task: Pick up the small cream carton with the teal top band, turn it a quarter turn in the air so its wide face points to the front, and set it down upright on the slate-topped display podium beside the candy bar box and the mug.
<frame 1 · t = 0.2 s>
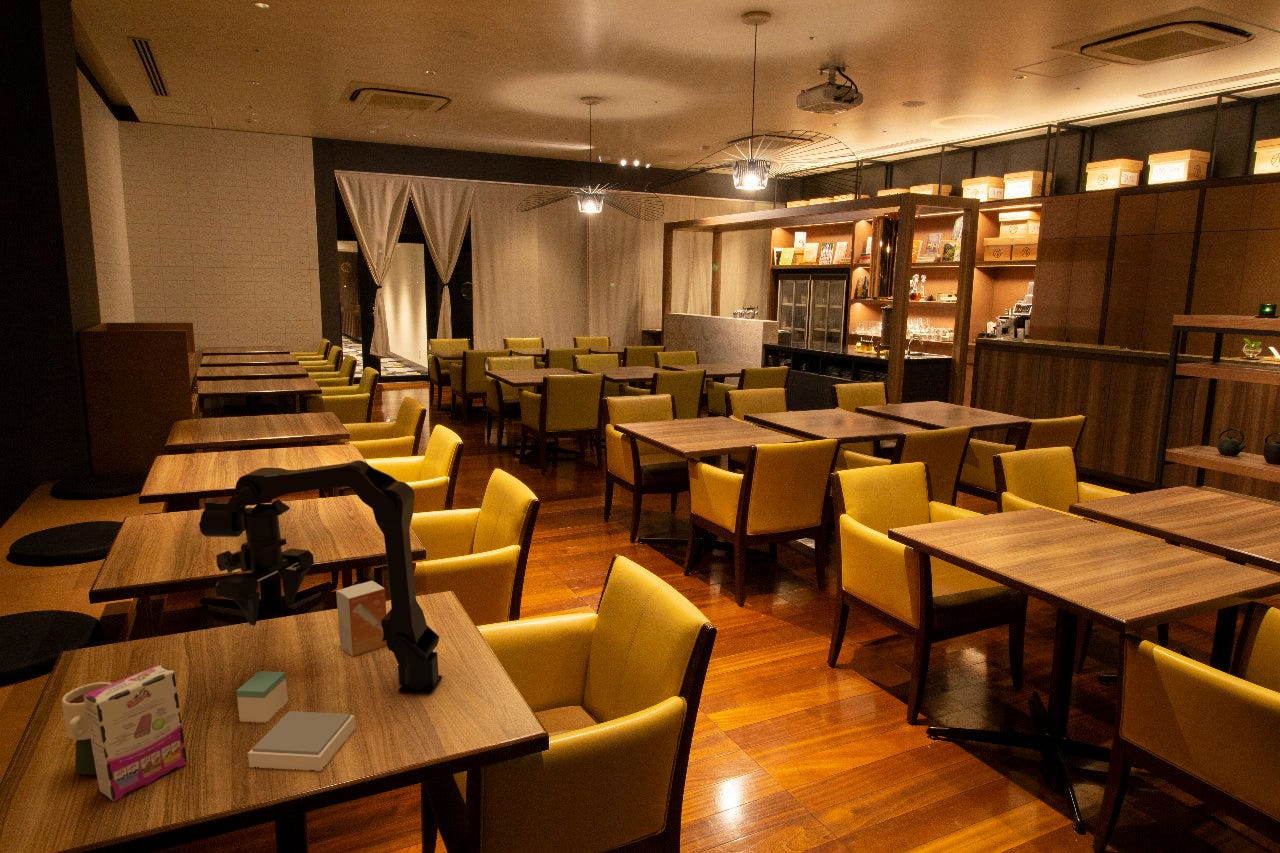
hand: (271, 614, 147), 14 cm above the table, tool pointing down, fingers open, 9 cm apart
display podium: (304, 747, 130), on the table
small box: (364, 647, 165), on the table
character mug: (100, 768, 124), on the table
candy bar box: (143, 779, 122), on the table
cream carton: (264, 711, 141), on the table
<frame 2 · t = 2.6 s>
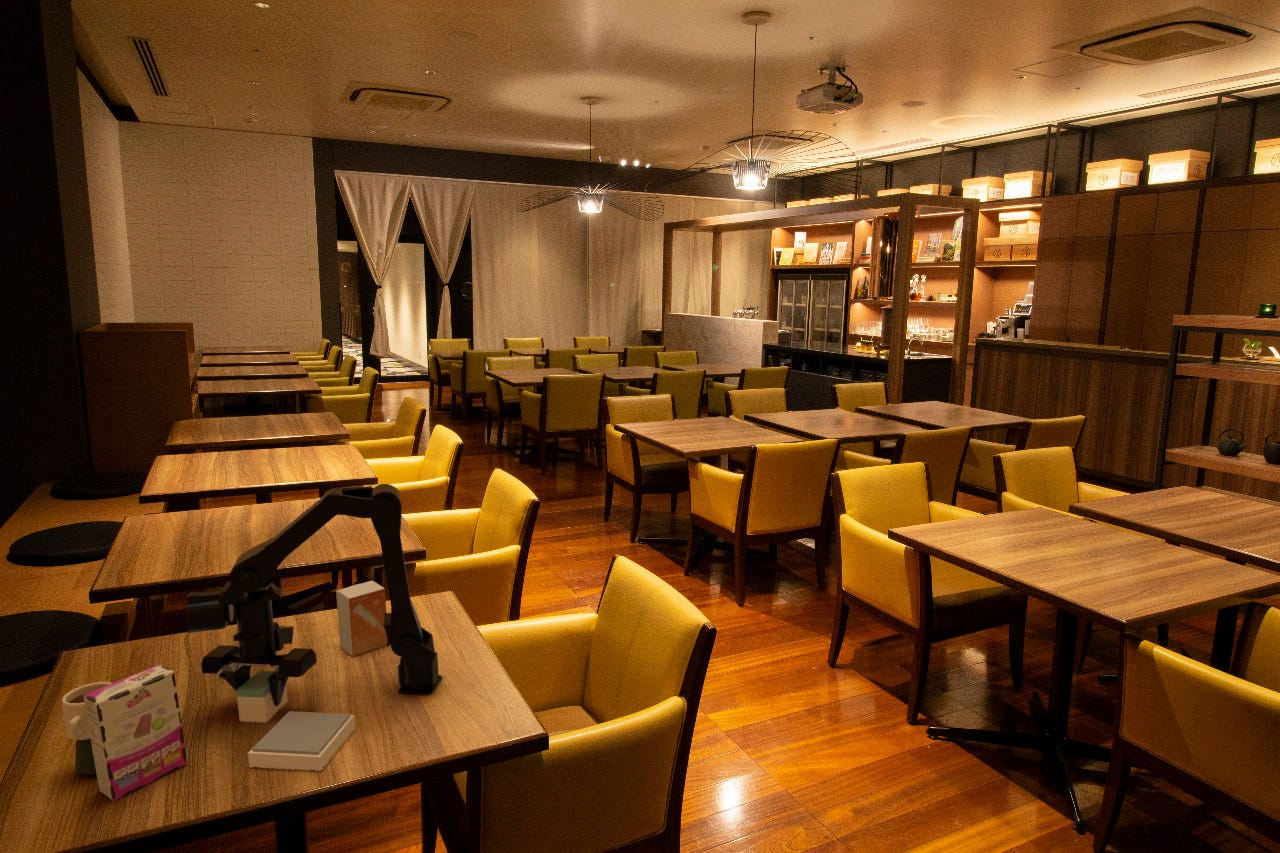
hand: (263, 704, 140), 1 cm above the table, tool pointing down, fingers closed on cream carton, 5 cm apart
cream carton: (264, 711, 141), on the table, touching gripper
everything else where it was.
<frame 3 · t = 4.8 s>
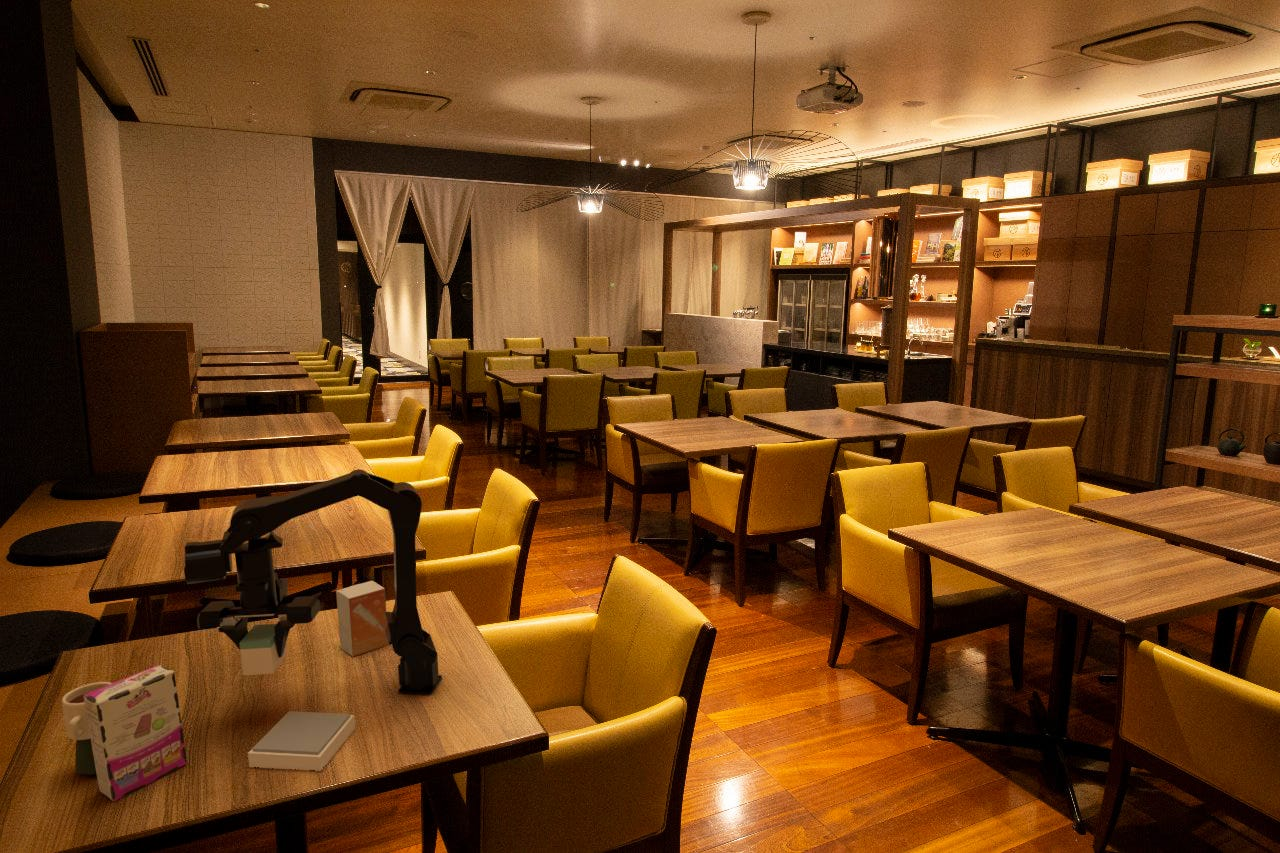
hand: (265, 657, 137), 11 cm above the table, tool pointing down, fingers closed on cream carton, 5 cm apart
cream carton: (265, 664, 137), point 10 cm above the table, touching gripper
everything else where it was.
when the fingers open (6 cm above the table, at t = 7.1 s): cream carton drops 2 cm, resting on display podium.
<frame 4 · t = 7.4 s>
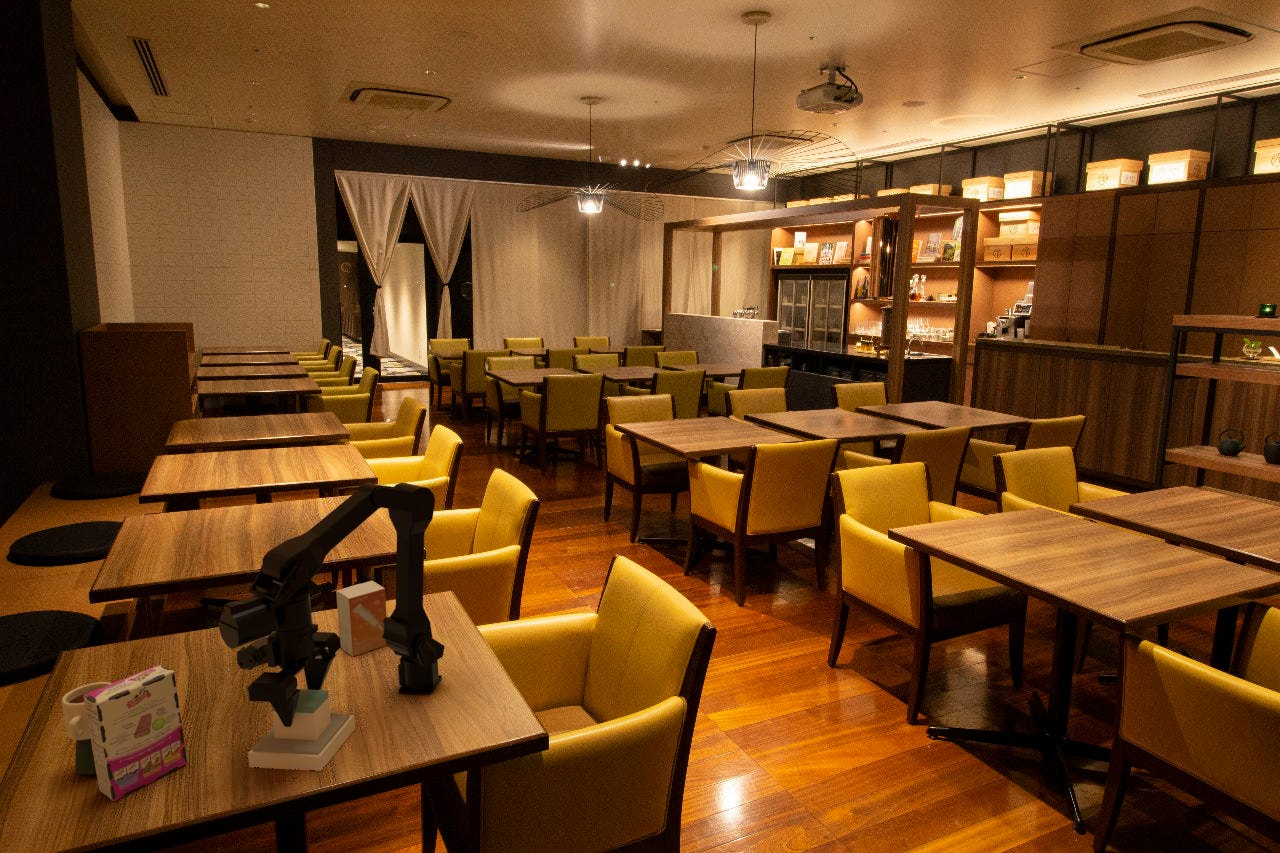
hand: (301, 712, 128), 6 cm above the table, tool pointing down, fingers open, 8 cm apart
cream carton: (303, 730, 129), point 3 cm above the table, touching display podium
everything else where it was.
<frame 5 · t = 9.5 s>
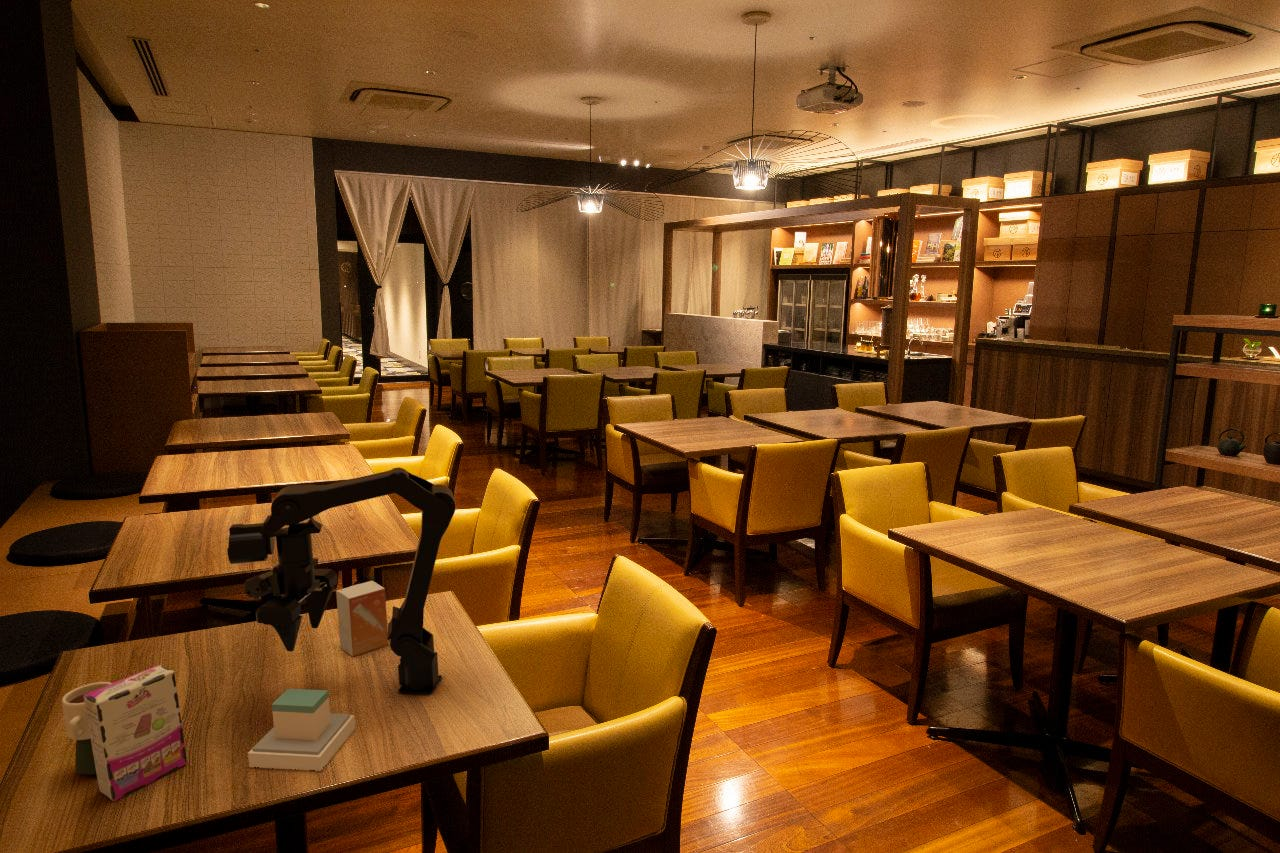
hand: (303, 639, 141), 12 cm above the table, tool pointing down, fingers open, 9 cm apart
nothing on the table moved.
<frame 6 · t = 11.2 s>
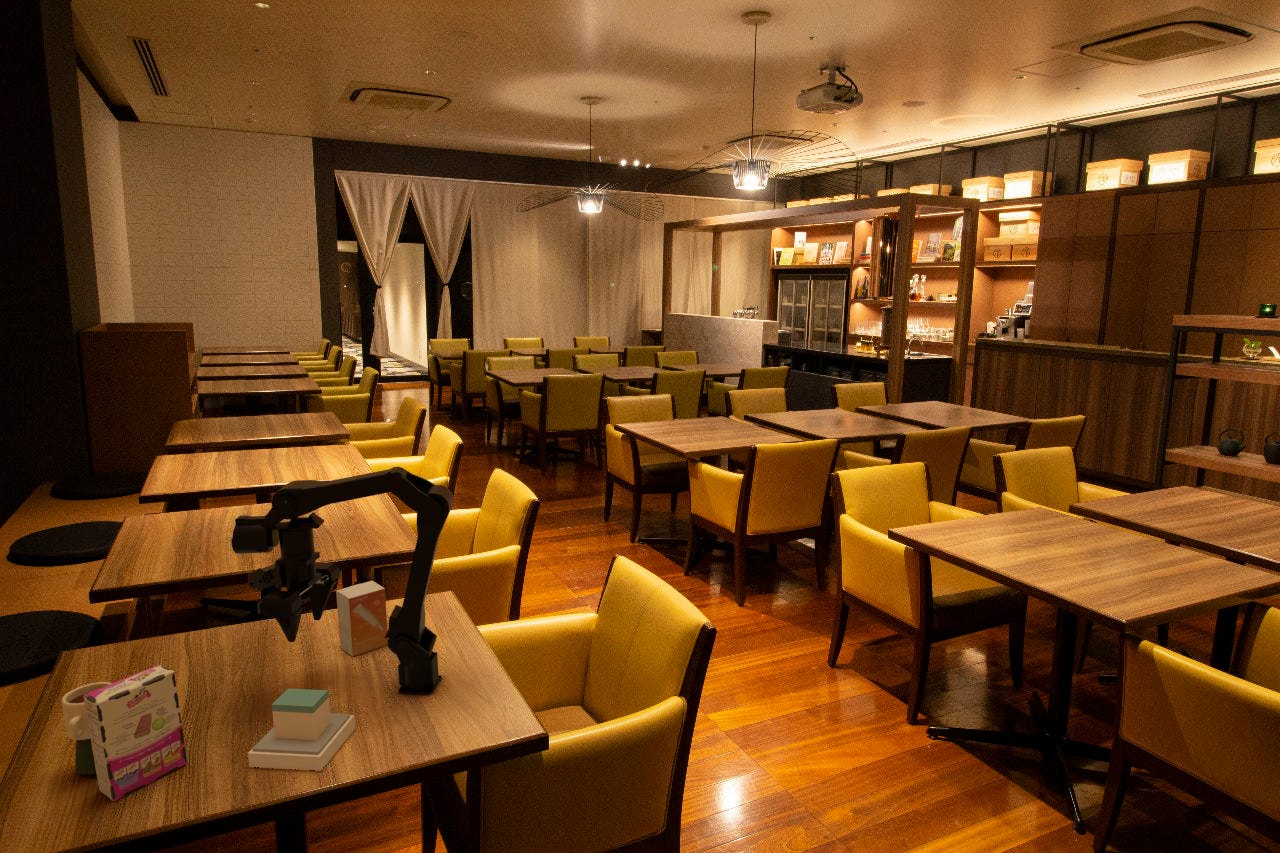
hand: (304, 630, 145), 12 cm above the table, tool pointing down, fingers open, 9 cm apart
nothing on the table moved.
at the end: cream carton inside the target area on the display podium (0.1 cm from its centre), point 3.0 cm above the display podium's base; cream carton tilted 0°; the gripper is holding nothing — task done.
